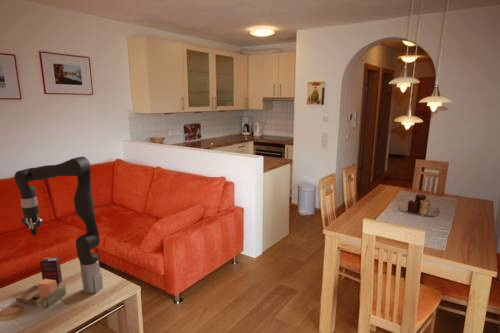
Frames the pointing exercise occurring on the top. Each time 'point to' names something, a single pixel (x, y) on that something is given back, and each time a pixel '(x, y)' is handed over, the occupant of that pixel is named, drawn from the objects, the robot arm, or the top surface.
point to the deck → (34, 299)
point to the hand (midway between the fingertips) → (34, 234)
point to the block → (46, 287)
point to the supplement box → (51, 269)
